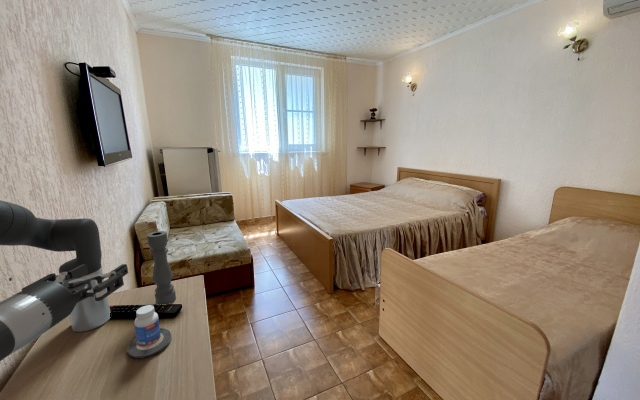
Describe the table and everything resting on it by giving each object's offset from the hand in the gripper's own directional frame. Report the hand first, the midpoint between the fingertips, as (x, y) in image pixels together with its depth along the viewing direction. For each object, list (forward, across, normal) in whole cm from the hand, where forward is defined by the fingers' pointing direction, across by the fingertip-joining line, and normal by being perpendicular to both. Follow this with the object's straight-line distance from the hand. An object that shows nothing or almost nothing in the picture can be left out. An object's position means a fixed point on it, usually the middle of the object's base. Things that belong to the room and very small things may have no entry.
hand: (105, 268), depth 56 cm
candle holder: (+30, +7, +28) cm, 42 cm away
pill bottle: (+10, 0, +27) cm, 29 cm away
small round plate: (+10, 0, +28) cm, 30 cm away
